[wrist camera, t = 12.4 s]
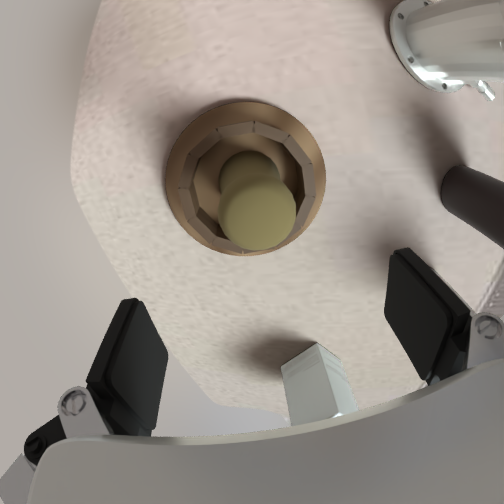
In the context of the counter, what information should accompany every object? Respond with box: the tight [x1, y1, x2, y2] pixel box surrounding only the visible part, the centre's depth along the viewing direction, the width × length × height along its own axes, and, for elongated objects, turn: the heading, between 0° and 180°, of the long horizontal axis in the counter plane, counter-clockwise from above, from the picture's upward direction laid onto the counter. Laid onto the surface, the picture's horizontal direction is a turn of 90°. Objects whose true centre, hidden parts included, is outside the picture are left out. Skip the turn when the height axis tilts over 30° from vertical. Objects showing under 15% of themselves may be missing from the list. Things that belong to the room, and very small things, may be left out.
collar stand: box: [165, 102, 326, 256], centre depth 26 cm, size 16×16×4 cm
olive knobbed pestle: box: [217, 151, 296, 251], centre depth 22 cm, size 6×6×11 cm
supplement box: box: [281, 343, 359, 426], centre depth 36 cm, size 7×7×13 cm
